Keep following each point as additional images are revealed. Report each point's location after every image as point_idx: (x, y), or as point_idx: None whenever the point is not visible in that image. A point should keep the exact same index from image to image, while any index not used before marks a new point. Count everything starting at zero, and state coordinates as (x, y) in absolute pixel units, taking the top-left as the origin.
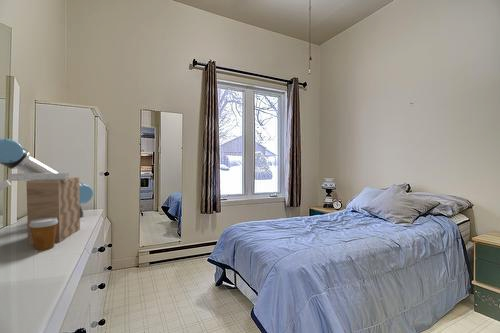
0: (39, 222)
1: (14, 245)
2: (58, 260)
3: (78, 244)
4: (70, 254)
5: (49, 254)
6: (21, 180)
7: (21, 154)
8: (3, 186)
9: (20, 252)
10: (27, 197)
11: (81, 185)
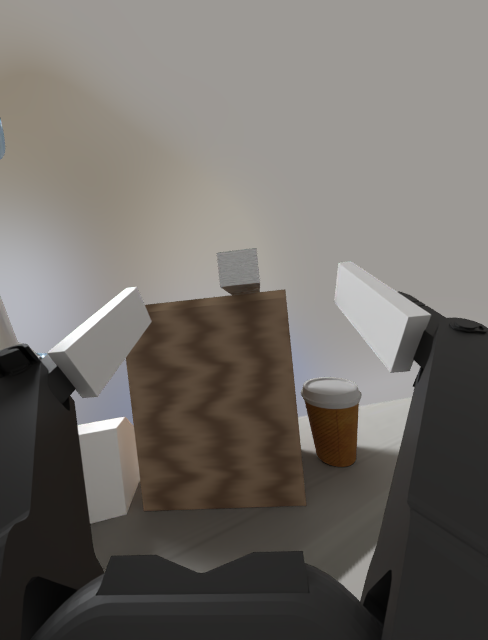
0: (353, 382)
1: (312, 550)
2: (391, 414)
3: (308, 420)
4: (361, 412)
5: (370, 432)
6: (259, 288)
7: (2, 134)
8: (131, 333)
9: (376, 485)
10: (290, 345)
11: (44, 355)
